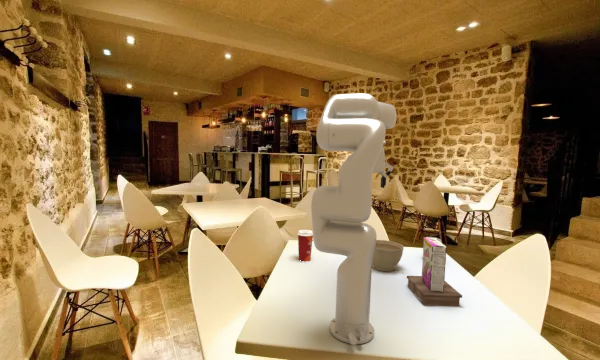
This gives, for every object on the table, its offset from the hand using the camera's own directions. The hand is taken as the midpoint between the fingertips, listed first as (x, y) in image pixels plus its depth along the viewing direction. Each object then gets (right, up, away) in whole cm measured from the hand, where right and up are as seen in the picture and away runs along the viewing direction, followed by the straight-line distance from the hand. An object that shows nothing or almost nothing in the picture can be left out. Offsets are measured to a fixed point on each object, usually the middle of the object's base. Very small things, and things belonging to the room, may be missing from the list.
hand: (370, 187), depth 116 cm
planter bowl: (+10, -38, +18) cm, 43 cm away
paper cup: (-26, -36, +26) cm, 51 cm away
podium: (+21, -40, -8) cm, 45 cm away
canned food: (+37, -37, +30) cm, 61 cm away
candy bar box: (+20, -36, -9) cm, 42 cm away
